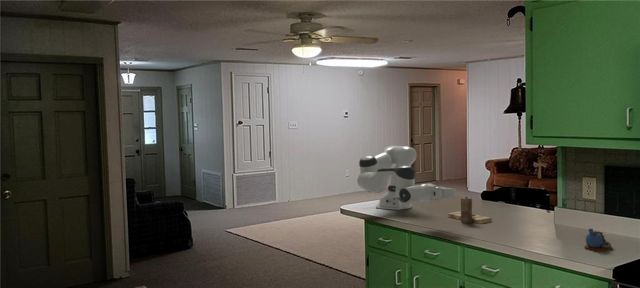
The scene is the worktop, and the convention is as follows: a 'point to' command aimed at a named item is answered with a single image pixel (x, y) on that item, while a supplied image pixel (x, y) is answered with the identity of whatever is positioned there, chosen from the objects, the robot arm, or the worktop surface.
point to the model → (596, 242)
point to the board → (475, 219)
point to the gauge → (466, 210)
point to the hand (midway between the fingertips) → (448, 189)
